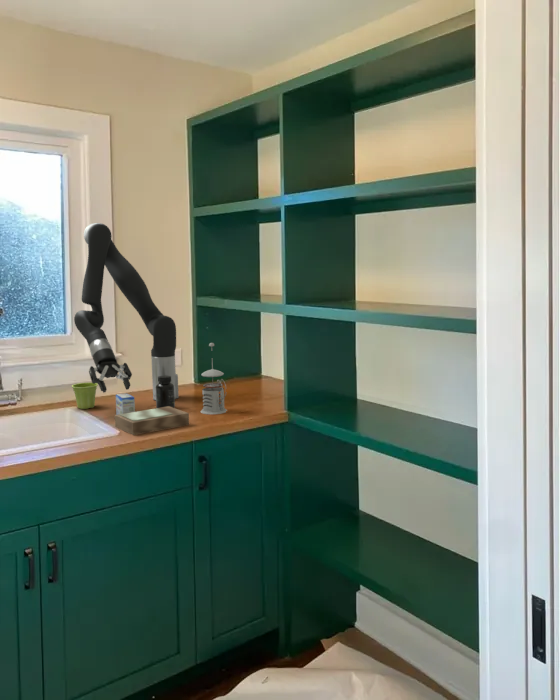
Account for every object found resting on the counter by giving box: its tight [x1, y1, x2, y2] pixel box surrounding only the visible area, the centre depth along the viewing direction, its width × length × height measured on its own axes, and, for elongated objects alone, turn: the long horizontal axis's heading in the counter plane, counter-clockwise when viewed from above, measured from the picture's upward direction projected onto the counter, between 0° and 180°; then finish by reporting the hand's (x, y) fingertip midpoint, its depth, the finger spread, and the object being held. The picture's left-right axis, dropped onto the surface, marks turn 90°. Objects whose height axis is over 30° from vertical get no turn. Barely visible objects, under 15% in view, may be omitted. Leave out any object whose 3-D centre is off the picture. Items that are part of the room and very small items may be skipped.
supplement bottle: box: [155, 376, 176, 409], centre depth 243 cm, size 7×7×12 cm
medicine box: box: [115, 392, 136, 415], centre depth 227 cm, size 8×4×9 cm, turn 31°
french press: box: [200, 342, 228, 415], centre depth 236 cm, size 10×12×25 cm
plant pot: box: [71, 382, 99, 410], centre depth 248 cm, size 9×9×9 cm
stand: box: [114, 406, 190, 436], centre depth 218 cm, size 20×14×4 cm
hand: (116, 389), depth 230 cm, fingers open, 8 cm apart
